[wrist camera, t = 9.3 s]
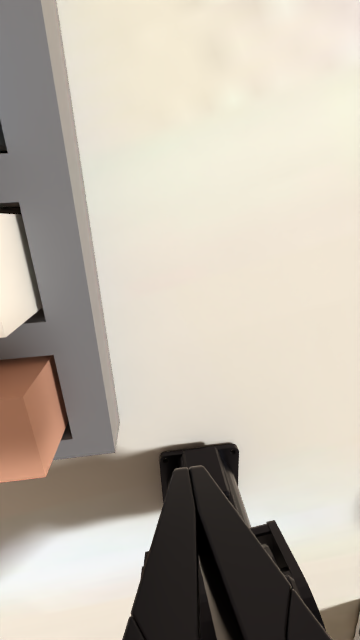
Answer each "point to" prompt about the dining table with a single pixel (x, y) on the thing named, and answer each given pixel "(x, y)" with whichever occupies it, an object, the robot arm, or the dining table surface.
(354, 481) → the dining table surface
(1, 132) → the light grey cube
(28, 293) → the cream key
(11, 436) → the terracotta key
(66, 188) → the grey slotted tray
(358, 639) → the tea box
